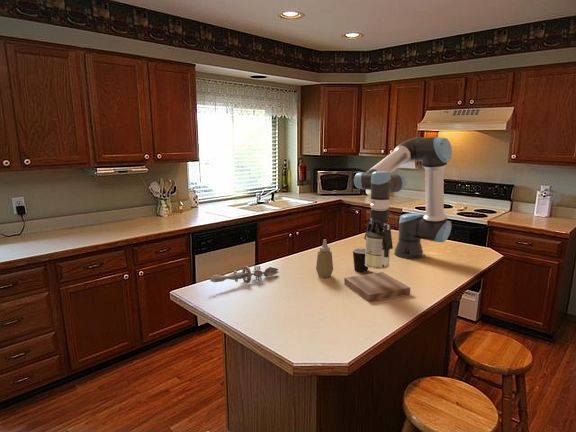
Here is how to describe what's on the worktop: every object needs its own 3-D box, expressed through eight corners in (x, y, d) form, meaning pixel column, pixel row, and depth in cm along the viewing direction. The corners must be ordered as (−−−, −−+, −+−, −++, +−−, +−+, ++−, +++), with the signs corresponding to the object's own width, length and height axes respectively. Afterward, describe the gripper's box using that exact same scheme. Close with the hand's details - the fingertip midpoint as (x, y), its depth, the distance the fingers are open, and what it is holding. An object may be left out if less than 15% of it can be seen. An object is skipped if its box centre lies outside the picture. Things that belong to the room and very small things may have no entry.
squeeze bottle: (320, 272, 184) (320, 236, 180) (335, 275, 180) (336, 238, 176) (312, 277, 177) (313, 240, 174) (328, 280, 173) (329, 242, 170)
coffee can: (365, 260, 167) (366, 229, 164) (389, 262, 164) (391, 231, 162) (363, 268, 157) (364, 235, 155) (389, 270, 155) (390, 237, 152)
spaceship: (205, 271, 164) (212, 269, 158) (272, 263, 184) (281, 261, 178) (207, 289, 163) (215, 288, 156) (274, 279, 183) (283, 278, 177)
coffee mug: (357, 266, 192) (358, 247, 190) (373, 269, 187) (373, 250, 185) (345, 272, 183) (346, 252, 181) (361, 276, 178) (362, 256, 176)
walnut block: (382, 278, 176) (382, 272, 175) (410, 294, 157) (410, 287, 157) (344, 284, 169) (344, 277, 168) (368, 301, 151) (368, 294, 150)
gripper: (357, 205, 165) (355, 253, 170) (387, 214, 144) (385, 269, 149) (372, 204, 168) (370, 252, 172) (404, 213, 147) (401, 267, 151)
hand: (377, 260), depth 161 cm, fingers closed on coffee can, 10 cm apart
